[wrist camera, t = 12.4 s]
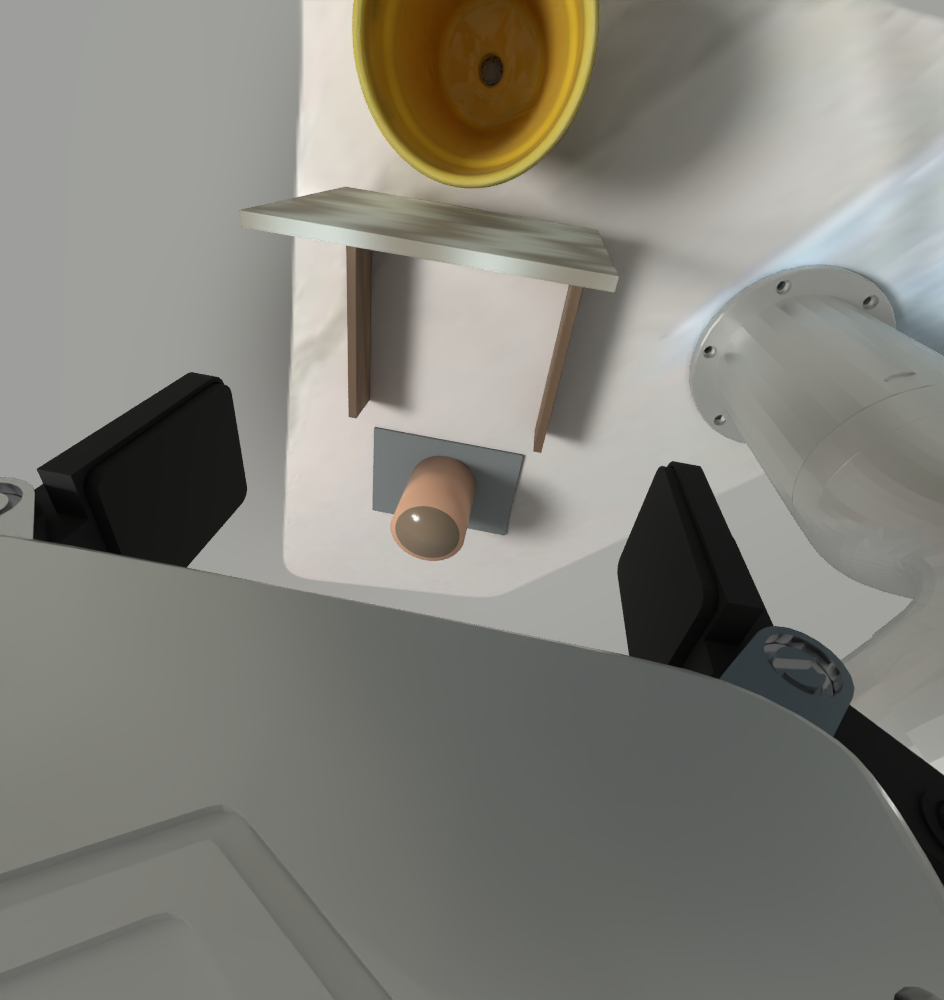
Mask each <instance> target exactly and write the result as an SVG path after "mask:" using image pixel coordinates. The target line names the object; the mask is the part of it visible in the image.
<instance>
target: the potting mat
mask: <svg viewBox="0 0 944 1000" xmlns="http://www.w3.org/2000/svg"><path fill="white" fill-rule="evenodd" d="M432 456H447V457H451V458H454V459H456V460H458V461H460V462H462V463H463V464H464V465H466V466H467V467H468V468H469V470H470V471H471V472H472V474H473V476H474V479H475V482H476V491H475V495H474V499H473V504H472V508H471V513H470V517H469V521H468V526H467V528H469V529H474V530H480V531H485V532H490V533H495V534H500V535H505V532H506V528H507V524H508V519H509V515H510V511H511V506H512V502H513V497H514V493H515V489H516V484H517V480H518V476H519V471H520V467H521V462H522V458H523V455H522V454H516V453H511V452H506V451H500V450H495V449H490V448H484V447H479V446H474V445H468V444H463V443H457V442H452V441H447V440H441V439H436V438H431V437H425V436H420V435H415V434H409V433H404V432H398V431H393V430H388V429H382V428H377V427H375V428H374V466H373V510H375V511H380V512H385V513H391V514H394V513H395V511H396V508H397V506H398V504H399V501H400V499H401V497H402V495H403V492H404V490H405V488H406V485H407V483H408V481H409V478H410V476H411V474H412V471H413V469H414V468H415V466H416V465H417V464H418V463H419V462H420V461H422V460H424V459H426V458H428V457H432Z"/></svg>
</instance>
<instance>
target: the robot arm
mask: <svg viewBox="0 0 944 1000" xmlns="http://www.w3.org/2000/svg"><path fill="white" fill-rule="evenodd" d="M782 281H783V285H782V286H781V287H779V288H777V285H778V284H779V283H780V282H782ZM867 297H868V298H867ZM866 298H867V300H866V301H865V302H864V300H865V299H866ZM896 328H897V326H896V321H895V316H894V311H893V308H892V306H891V305H890V303H889V301H888V299H887V297H886V295H885V294H884V293H883V292H882V291H881V290H880V289H879V288H878V287H877V286H876V285H875V284H874V283H873V282H871V281H870V280H868V279H866V278H864V277H863V276H861V275H859V274H857V273H854V272H852V271H849V270H847V269H844V268H839V267H833V266H827V265H810V266H800V267H796V268H791V269H786V270H782V271H780V272H777V273H774V274H772V275H769V276H767V277H764V278H762V279H760V280H758V281H757V282H755V283H753V284H752V285H750V286H748V287H746V288H745V289H743V290H742V291H741V292H739V293H738V294H737V295H735V296H734V297H733V298H732V299H730V300H729V301H728V302H727V303H726V304H725V305H724V306H723V307H722V308H721V309H720V310H719V311H718V312H717V313H716V314H715V315H714V317H713V318H712V319H711V321H710V322H709V324H708V325H707V326H706V328H705V329H704V331H703V332H702V334H701V336H700V338H699V340H698V343H697V345H696V347H695V349H694V352H693V356H692V360H691V364H690V377H689V383H690V388H691V394H692V398H693V400H694V402H695V404H696V407H697V409H698V411H699V412H700V414H701V415H702V417H703V419H704V420H705V421H706V422H707V423H708V424H709V425H710V427H712V428H713V429H714V430H716V431H717V432H719V433H720V434H722V435H723V436H725V437H727V438H730V439H732V440H735V441H738V442H741V443H746V444H747V445H748V447H749V448H750V450H751V451H752V453H753V455H754V456H755V458H756V459H757V461H758V462H759V464H760V466H761V467H762V469H763V470H764V472H765V474H766V475H767V477H768V478H769V480H770V481H771V483H772V484H773V486H774V488H775V489H776V491H777V493H778V494H779V496H780V497H781V499H782V500H783V502H784V503H785V505H786V507H787V508H788V510H789V511H790V513H791V515H792V516H793V518H794V519H795V521H796V523H797V524H798V526H799V527H800V529H801V530H802V531H803V533H804V535H805V536H806V538H807V539H808V541H809V542H810V544H811V545H812V546H813V547H814V549H815V550H816V551H817V552H818V553H819V555H820V556H821V557H822V558H823V559H824V560H825V561H826V562H827V563H828V564H830V565H831V566H832V567H833V568H835V569H836V570H838V571H839V572H841V573H843V574H844V575H846V576H847V577H849V578H851V579H853V580H855V581H857V582H859V583H861V584H864V585H867V586H869V587H872V588H875V589H878V590H880V591H883V592H887V593H891V594H895V595H898V596H903V597H906V598H911V599H913V601H911V602H910V604H909V605H908V606H907V607H906V608H905V609H904V610H903V611H902V612H901V613H899V614H898V615H897V616H896V617H894V618H893V619H892V620H891V621H889V622H888V623H887V624H886V625H885V626H883V627H882V628H880V629H879V630H878V631H877V632H875V633H874V634H873V636H872V638H870V639H869V640H868V641H866V642H865V643H864V644H862V645H861V646H860V647H858V648H857V649H855V650H854V651H853V652H851V653H850V654H849V655H847V656H846V657H845V658H843V659H842V660H840V659H839V658H838V657H837V656H836V655H835V654H834V653H833V652H832V651H831V650H829V649H828V648H827V647H825V646H824V645H823V644H821V643H820V642H819V641H817V640H815V639H813V638H811V637H810V636H808V635H806V634H804V633H802V632H799V631H796V630H793V629H790V628H786V627H779V626H773V624H772V621H771V619H770V617H769V615H768V613H767V610H766V608H765V606H764V604H763V602H762V599H761V597H760V595H759V593H758V591H757V589H756V586H755V584H754V582H753V580H752V577H751V575H750V573H749V570H748V568H747V566H746V564H745V562H744V560H743V557H742V555H741V553H740V550H739V548H738V546H737V544H736V542H735V540H734V538H733V537H732V535H731V533H730V530H729V528H728V526H727V524H726V521H725V519H724V517H723V515H722V512H721V510H720V508H719V506H718V504H717V501H716V499H715V497H714V494H713V492H712V490H711V488H710V486H709V483H708V481H707V479H706V477H705V474H704V472H703V470H702V468H701V467H700V466H696V465H690V464H685V463H679V462H674V461H672V462H670V463H669V465H668V466H667V467H664V466H661V467H659V468H658V470H657V472H656V474H655V476H654V479H653V481H652V484H651V486H650V488H649V491H648V493H647V495H646V498H645V500H644V502H643V505H642V507H641V510H640V512H639V514H638V517H637V519H636V521H635V524H634V526H633V528H632V531H631V533H630V535H629V538H628V540H627V543H626V545H625V547H624V550H623V552H622V554H621V557H620V560H619V563H618V572H617V573H618V581H619V588H620V594H621V602H622V609H623V615H624V622H625V630H626V637H627V644H628V650H629V656H627V655H623V654H618V653H614V652H609V651H604V650H599V649H594V648H589V647H584V646H579V645H574V644H569V643H564V642H560V641H555V640H549V639H545V638H540V637H535V636H530V635H524V634H520V633H515V632H510V631H505V630H500V629H495V628H490V627H485V626H480V625H475V624H470V623H465V622H460V621H455V620H450V619H445V618H440V617H435V616H430V615H425V614H419V613H415V612H410V611H405V610H400V609H395V608H390V607H385V606H380V605H375V604H369V603H364V602H359V601H354V600H349V599H344V598H339V597H334V596H329V595H324V594H318V593H314V592H308V591H303V590H298V589H293V588H288V587H283V586H278V585H272V584H267V583H262V582H257V581H252V580H247V579H242V578H237V577H232V576H226V575H222V574H217V573H212V572H206V571H201V570H196V569H190V568H187V566H188V565H189V564H190V563H191V562H192V560H193V559H194V558H195V557H196V556H197V555H198V554H199V552H200V551H201V550H202V549H203V548H204V547H205V545H206V544H207V543H208V542H209V541H210V540H211V538H212V537H213V536H214V535H215V534H216V533H217V532H218V530H219V529H220V528H221V527H222V526H223V525H224V524H225V522H226V521H227V520H228V519H229V518H230V517H231V515H232V514H233V513H234V512H235V511H236V510H237V508H238V507H239V506H240V505H241V504H242V503H243V501H244V499H245V496H246V492H247V484H246V478H245V472H244V467H243V460H242V454H241V448H240V442H239V435H238V430H237V423H236V417H235V411H234V405H233V399H232V393H231V390H230V388H229V387H228V386H227V385H224V383H223V381H222V380H221V379H220V378H219V377H215V376H209V375H204V374H198V373H193V372H191V373H188V374H186V375H184V376H183V377H181V378H180V379H178V380H176V381H175V382H173V383H172V384H170V385H169V386H167V387H165V388H164V389H163V390H161V391H159V392H158V393H156V394H154V395H153V396H151V397H150V398H148V399H147V400H145V401H143V402H142V403H140V404H139V405H137V406H135V407H134V408H132V409H131V410H129V411H128V412H126V413H124V414H123V415H122V416H120V417H118V418H116V419H115V420H113V421H112V422H110V423H109V424H107V425H105V426H104V427H102V428H101V429H99V430H98V431H96V432H94V433H93V434H91V435H90V436H88V437H86V438H85V439H83V440H82V441H80V442H79V443H77V444H75V445H74V446H72V447H71V448H69V449H68V450H66V451H64V452H63V453H61V454H60V455H58V456H57V457H55V458H53V459H52V460H50V461H49V462H47V463H45V464H44V465H42V466H41V467H39V468H38V469H37V471H38V473H39V475H40V477H41V480H42V482H43V484H42V485H41V486H40V487H38V488H36V489H35V490H34V488H33V486H32V485H30V484H29V483H27V482H26V481H24V480H20V479H16V478H7V477H0V1000H944V356H943V355H941V354H939V353H938V352H936V351H934V350H932V349H930V348H929V347H927V346H925V345H923V344H921V343H920V342H918V341H916V340H914V339H912V338H911V337H909V336H907V335H905V334H903V333H901V332H900V331H898V330H896ZM709 346H711V347H710V349H709V350H708V351H704V350H705V348H707V347H709ZM719 415H720V416H719ZM717 416H719V417H717ZM716 417H717V418H716Z"/></svg>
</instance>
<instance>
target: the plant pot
mask: <svg viewBox="0 0 944 1000" xmlns="http://www.w3.org/2000/svg"><path fill="white" fill-rule="evenodd" d="M598 28H599V3H598V0H354V4H353V21H352V32H353V49H354V57H355V64H356V69H357V73H358V77H359V82H360V85H361V89H362V92H363V95H364V97H365V100H366V103H367V105H368V108H369V110H370V112H371V114H372V116H373V118H374V120H375V122H376V124H377V126H378V127H379V129H380V131H381V132H382V134H383V135H384V137H385V138H386V140H387V141H388V142H389V144H390V145H391V146H392V147H393V149H394V150H395V151H396V152H397V153H398V154H399V155H400V156H401V157H402V158H403V159H404V160H405V161H406V162H407V163H408V164H409V165H411V166H412V167H413V168H415V169H416V170H417V171H419V172H420V173H422V174H424V175H425V176H427V177H429V178H431V179H433V180H435V181H437V182H440V183H443V184H446V185H450V186H454V187H460V188H483V187H490V186H495V185H498V184H502V183H505V182H507V181H509V180H512V179H514V178H516V177H518V176H520V175H521V174H523V173H525V172H526V171H528V170H529V169H531V168H532V167H533V166H535V165H536V164H537V163H538V162H539V161H541V160H542V159H543V158H544V157H545V156H546V155H547V154H548V153H549V152H550V151H551V150H552V149H553V148H554V146H555V145H556V144H557V143H558V141H559V140H560V139H561V138H562V136H563V135H564V133H565V132H566V130H567V129H568V127H569V126H570V124H571V122H572V121H573V119H574V117H575V115H576V113H577V111H578V109H579V107H580V105H581V102H582V100H583V98H584V95H585V92H586V90H587V87H588V83H589V80H590V77H591V73H592V69H593V65H594V60H595V55H596V48H597V41H598ZM493 56H494V57H497V58H498V59H499V60H500V61H501V63H502V67H503V73H502V76H501V78H500V80H499V81H498V82H497V83H496V84H494V85H487V84H486V83H485V82H484V81H483V79H482V77H481V67H482V64H483V62H484V61H485V60H486V59H487V58H489V57H493Z"/></svg>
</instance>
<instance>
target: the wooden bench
mask: <svg viewBox="0 0 944 1000" xmlns="http://www.w3.org/2000/svg"><path fill="white" fill-rule="evenodd" d="M240 218H241V226H242V227H245V228H250V229H256V230H262V231H268V232H273V233H279V234H285V235H290V236H296V237H301V238H307V239H313V240H318V241H324V242H330V243H335V244H341V245H346V253H347V326H348V398H349V417H352V418H357V417H358V415H359V414H360V412H361V411H362V410H363V408H364V407H365V405H366V404H367V403H368V401H369V400H370V337H371V263H372V250H375V251H381V252H387V253H392V254H398V255H404V256H409V257H415V258H421V259H426V260H432V261H438V262H443V263H449V264H455V265H461V266H466V267H472V268H478V269H483V270H489V271H495V272H500V273H506V274H512V275H517V276H523V277H529V278H534V279H540V280H546V281H552V282H557V283H563V284H569V288H568V292H567V297H566V301H565V305H564V309H563V314H562V318H561V322H560V326H559V330H558V335H557V339H556V343H555V347H554V352H553V356H552V360H551V364H550V368H549V373H548V377H547V381H546V385H545V390H544V394H543V398H542V402H541V407H540V411H539V415H538V419H537V423H536V428H535V436H534V450H533V451H534V452H540V453H541V451H542V447H543V443H544V439H545V435H546V431H547V427H548V423H549V420H550V416H551V412H552V408H553V404H554V400H555V396H556V392H557V388H558V384H559V380H560V376H561V372H562V368H563V364H564V360H565V356H566V352H567V348H568V344H569V340H570V336H571V332H572V328H573V324H574V321H575V317H576V313H577V309H578V305H579V301H580V297H581V293H582V289H583V287H586V288H591V289H597V290H603V291H608V292H614V293H615V289H616V286H617V282H618V279H619V275H618V273H617V271H616V269H615V267H614V264H613V262H612V260H611V258H610V256H609V254H608V252H607V250H606V247H605V245H604V243H603V241H602V239H601V237H600V235H599V233H598V231H597V230H594V229H588V228H582V227H576V226H570V225H565V224H559V223H553V222H547V221H541V220H536V219H530V218H524V217H518V216H512V215H507V214H501V213H495V212H489V211H483V210H478V209H472V208H466V207H460V206H454V205H449V204H443V203H437V202H431V201H425V200H420V199H414V198H408V197H402V196H396V195H391V194H385V193H379V192H373V191H367V190H362V189H356V188H350V187H342V188H338V189H333V190H329V191H324V192H319V193H315V194H310V195H306V196H301V197H297V198H292V199H288V200H284V201H279V202H275V203H270V204H265V205H260V206H256V207H251V208H247V209H242V210H240Z"/></svg>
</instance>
